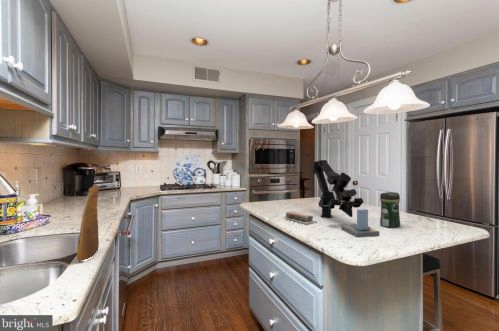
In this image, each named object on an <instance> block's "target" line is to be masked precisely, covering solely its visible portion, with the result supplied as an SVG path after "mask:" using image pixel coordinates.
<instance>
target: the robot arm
mask: <svg viewBox="0 0 499 331" xmlns="http://www.w3.org/2000/svg"><path fill="white" fill-rule="evenodd" d="M310 169H311V171H312V172H313V173H314V175H316V179H317V183H318V186H319V189H320V192H321V195H320V198H319V201H318V207H319V208H321V215H320V218H329V219H330V218H332V217H333V214H332V210H333V209H335V207H336V206H339V208H338V210H339V211H342V212H343V213H345V214H346V215H347V216H348V217H350V218H352V217H353V215H354V214H353V208H355V209H356V208H360V207H361V206H362V204H364V199H363V198H362V197H356V198H355V196H356V195H357V191H356V189H355V188H352V189H346V188H347V187H348V185H349V183H350V182H351V180H352V178H351V176H350V175H348V174H346V173H345V172H340V174H339V173H337V172H336V171H335V170H333V168H332V167H331V166H330V164H329V163H328V160H327V159H320V160H317V161H312V162H311V164H310ZM325 175H326V177H327V178H326V177H325ZM328 185H330V186H332V189H331V191H330V190H329V187H328ZM334 193H335V194H334ZM335 195H336V196H335ZM352 197H354V199H353V198H352ZM352 199H353V200H352Z"/></svg>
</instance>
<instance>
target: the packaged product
mask: <svg viewBox="0 0 499 331" xmlns="http://www.w3.org/2000/svg"><path fill="white" fill-rule="evenodd" d="M284 219H286V220H285V221H287V220H289V221H288V222H291V221H293V222H292V223H295V222H297V223H296V224H299V223H300V225H303V224H304V225H305V226H310V225H313V224H315V223H316V224H317V223H318V221H317V220H314V216H313V215H309V214H304V213H301V212H296V211H287V212H286V213H285V217H283V220H284Z"/></svg>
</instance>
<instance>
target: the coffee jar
mask: <svg viewBox="0 0 499 331" xmlns="http://www.w3.org/2000/svg"><path fill="white" fill-rule="evenodd" d="M379 196H380V198H379V200H380V207H381V208H380V221H379V222H380V223H379V224H380V225H381V226H382V227H384V228H391V229H392V228H398V227H400V226H401V218H400V217H401V216H400V201H401V197H400V193H399V192H394V191H388V192H381V193H380V195H379Z"/></svg>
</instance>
